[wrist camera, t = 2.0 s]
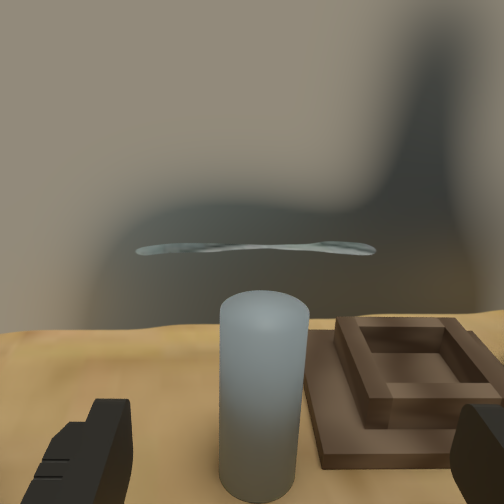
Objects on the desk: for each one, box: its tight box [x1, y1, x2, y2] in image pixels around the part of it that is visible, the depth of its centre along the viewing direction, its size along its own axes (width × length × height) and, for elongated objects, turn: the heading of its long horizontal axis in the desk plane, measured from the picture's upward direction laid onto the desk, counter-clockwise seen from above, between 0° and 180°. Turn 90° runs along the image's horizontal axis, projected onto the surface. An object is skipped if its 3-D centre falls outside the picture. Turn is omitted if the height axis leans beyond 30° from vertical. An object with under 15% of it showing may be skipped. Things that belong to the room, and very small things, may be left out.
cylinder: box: [219, 290, 309, 503], centre depth 26 cm, size 5×5×11 cm
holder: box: [303, 317, 504, 469], centre depth 34 cm, size 16×14×4 cm
